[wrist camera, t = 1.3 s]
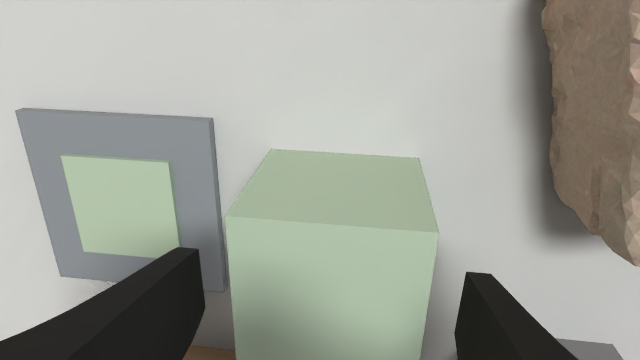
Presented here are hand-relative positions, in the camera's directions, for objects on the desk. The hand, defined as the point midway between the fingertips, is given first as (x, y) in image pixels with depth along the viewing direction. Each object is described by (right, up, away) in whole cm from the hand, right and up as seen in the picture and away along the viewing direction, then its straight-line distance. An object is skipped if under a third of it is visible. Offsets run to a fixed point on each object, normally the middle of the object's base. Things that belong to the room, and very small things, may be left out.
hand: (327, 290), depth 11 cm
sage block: (+1, +2, +4) cm, 4 cm away
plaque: (-7, +2, +5) cm, 9 cm away
